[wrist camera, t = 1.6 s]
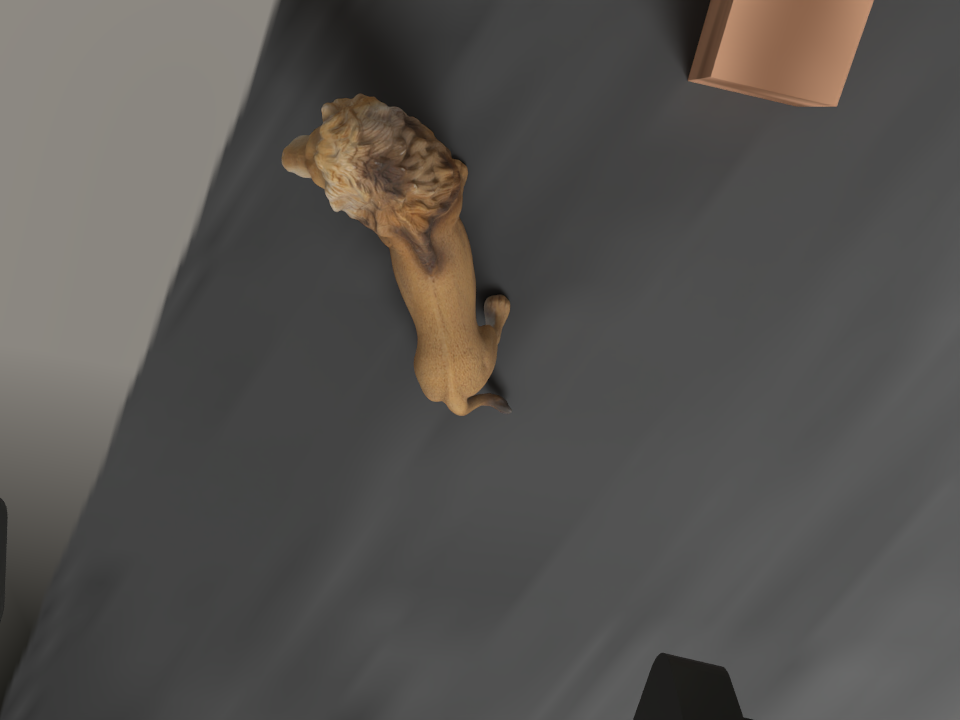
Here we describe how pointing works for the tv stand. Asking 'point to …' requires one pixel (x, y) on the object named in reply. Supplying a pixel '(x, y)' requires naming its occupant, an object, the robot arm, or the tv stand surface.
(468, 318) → the lion figurine
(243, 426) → the tv stand surface
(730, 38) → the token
